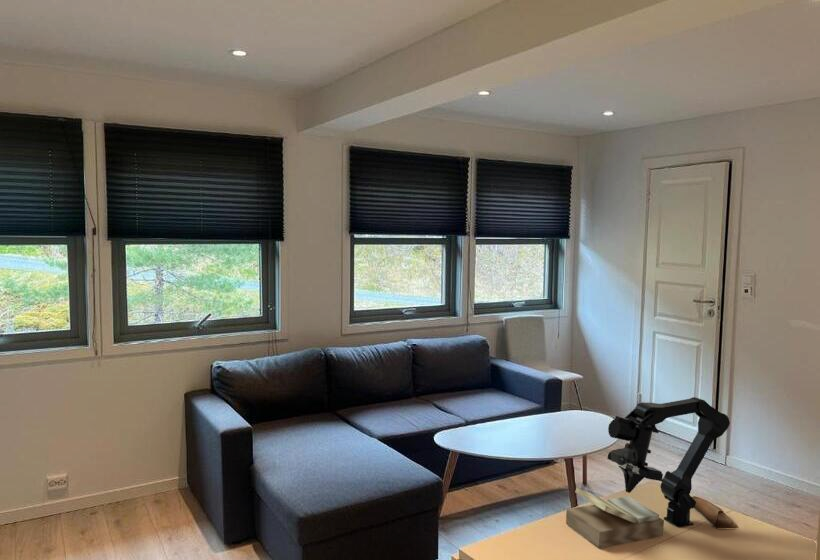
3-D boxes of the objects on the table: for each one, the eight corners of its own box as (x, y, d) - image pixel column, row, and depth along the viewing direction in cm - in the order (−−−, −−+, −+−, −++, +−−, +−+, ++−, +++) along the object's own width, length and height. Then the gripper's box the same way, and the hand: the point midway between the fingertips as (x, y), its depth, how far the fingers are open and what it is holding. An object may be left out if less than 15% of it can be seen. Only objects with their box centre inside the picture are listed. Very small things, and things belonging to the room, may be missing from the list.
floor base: (626, 514, 197) (627, 494, 196) (663, 536, 182) (664, 515, 181) (565, 524, 188) (566, 504, 188) (598, 548, 173) (599, 527, 173)
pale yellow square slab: (604, 504, 192) (606, 499, 192) (635, 523, 179) (637, 518, 179) (575, 492, 188) (576, 487, 188) (604, 510, 174) (606, 506, 175)
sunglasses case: (741, 529, 187) (731, 511, 187) (722, 539, 188) (712, 522, 187) (712, 504, 205) (703, 488, 205) (694, 514, 206) (685, 498, 205)
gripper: (599, 430, 193) (588, 478, 192) (640, 449, 175) (628, 501, 174) (626, 436, 196) (615, 482, 196) (669, 454, 179) (657, 505, 178)
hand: (627, 492), depth 186 cm, fingers closed
